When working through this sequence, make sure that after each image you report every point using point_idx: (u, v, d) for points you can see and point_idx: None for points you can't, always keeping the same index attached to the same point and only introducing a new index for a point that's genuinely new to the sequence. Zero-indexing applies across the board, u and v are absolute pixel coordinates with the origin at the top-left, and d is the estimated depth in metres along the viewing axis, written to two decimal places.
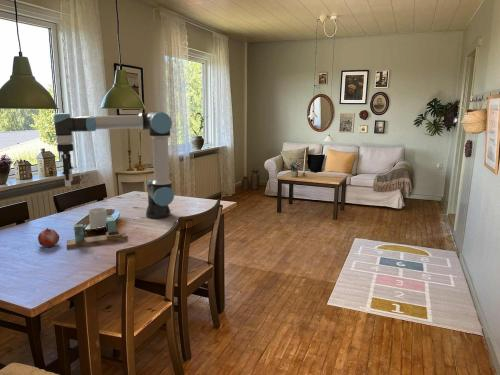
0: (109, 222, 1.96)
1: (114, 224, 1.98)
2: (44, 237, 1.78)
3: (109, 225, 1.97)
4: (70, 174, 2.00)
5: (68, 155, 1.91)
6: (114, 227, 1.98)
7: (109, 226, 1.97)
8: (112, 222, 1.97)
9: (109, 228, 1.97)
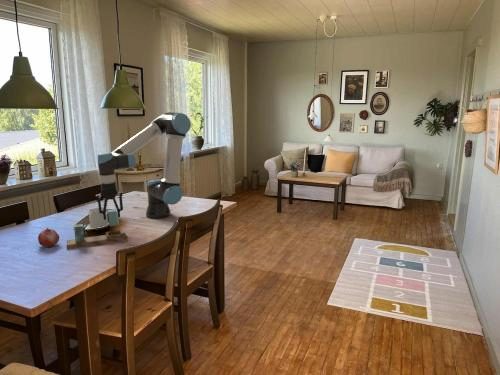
0: (110, 213, 1.96)
1: (115, 215, 1.97)
2: (44, 237, 1.78)
3: (110, 216, 1.96)
4: None
5: (105, 194, 1.93)
6: (115, 218, 1.97)
7: (110, 217, 1.96)
8: (113, 213, 1.96)
9: (110, 219, 1.96)
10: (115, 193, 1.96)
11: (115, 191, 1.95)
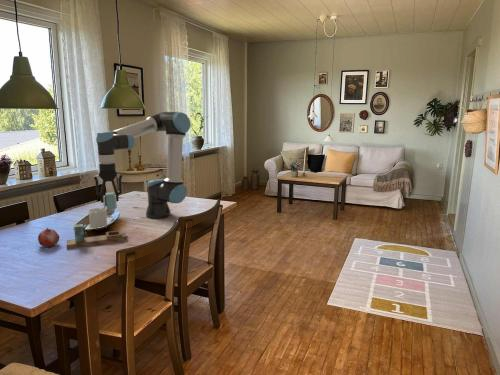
0: (108, 196, 1.84)
1: (113, 198, 1.85)
2: (44, 237, 1.78)
3: (108, 199, 1.84)
4: None
5: (103, 176, 1.82)
6: (113, 201, 1.86)
7: (108, 200, 1.85)
8: (111, 196, 1.85)
9: (107, 202, 1.85)
10: (114, 175, 1.84)
11: (114, 173, 1.84)
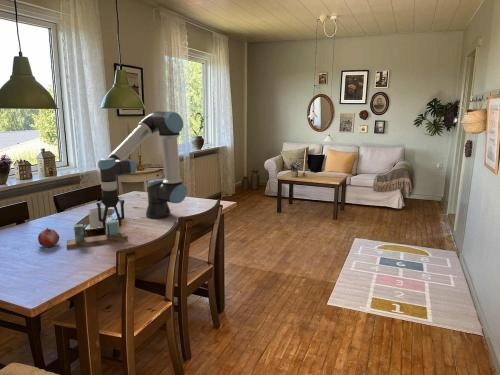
0: (110, 224, 1.87)
1: (116, 226, 1.88)
2: (44, 237, 1.78)
3: (110, 227, 1.87)
4: (117, 225, 1.90)
5: (106, 202, 1.85)
6: (116, 229, 1.89)
7: (110, 228, 1.87)
8: (113, 224, 1.88)
9: (110, 230, 1.87)
10: (116, 201, 1.87)
11: (116, 199, 1.87)
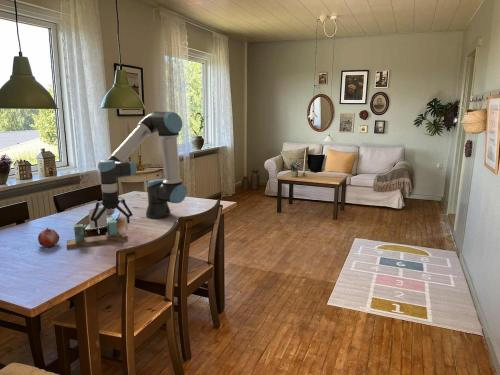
0: (110, 224, 1.87)
1: (116, 226, 1.88)
2: (44, 237, 1.78)
3: (110, 227, 1.87)
4: (125, 222, 1.92)
5: (107, 203, 1.85)
6: (116, 229, 1.89)
7: (110, 228, 1.87)
8: (113, 224, 1.88)
9: (110, 230, 1.87)
10: (117, 203, 1.87)
11: (116, 201, 1.87)
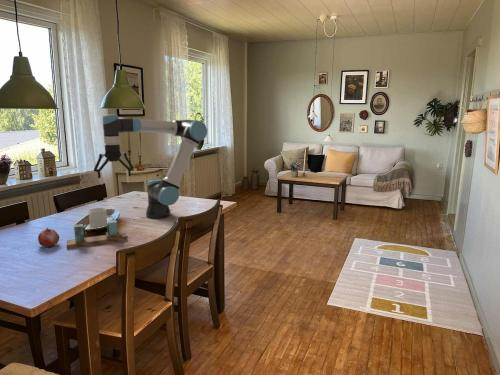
0: (110, 224, 1.87)
1: (116, 226, 1.88)
2: (44, 237, 1.78)
3: (110, 227, 1.87)
4: (127, 175, 2.02)
5: (109, 155, 1.96)
6: (116, 229, 1.89)
7: (110, 228, 1.87)
8: (113, 224, 1.88)
9: (110, 230, 1.87)
10: (119, 155, 1.98)
11: (118, 153, 1.98)
